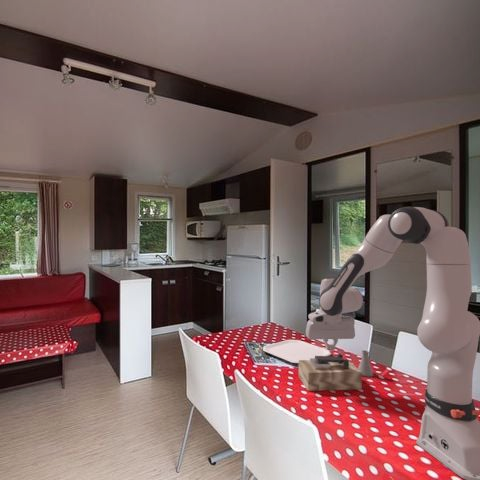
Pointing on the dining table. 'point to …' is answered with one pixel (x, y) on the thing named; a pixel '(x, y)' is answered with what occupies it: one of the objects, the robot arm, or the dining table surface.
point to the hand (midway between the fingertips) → (330, 349)
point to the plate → (295, 351)
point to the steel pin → (319, 364)
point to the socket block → (330, 376)
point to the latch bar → (329, 359)
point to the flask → (365, 364)
